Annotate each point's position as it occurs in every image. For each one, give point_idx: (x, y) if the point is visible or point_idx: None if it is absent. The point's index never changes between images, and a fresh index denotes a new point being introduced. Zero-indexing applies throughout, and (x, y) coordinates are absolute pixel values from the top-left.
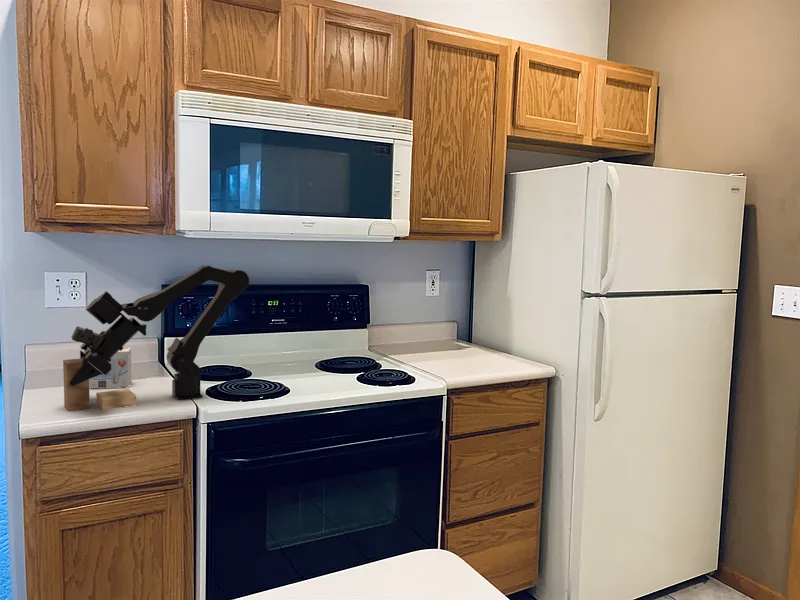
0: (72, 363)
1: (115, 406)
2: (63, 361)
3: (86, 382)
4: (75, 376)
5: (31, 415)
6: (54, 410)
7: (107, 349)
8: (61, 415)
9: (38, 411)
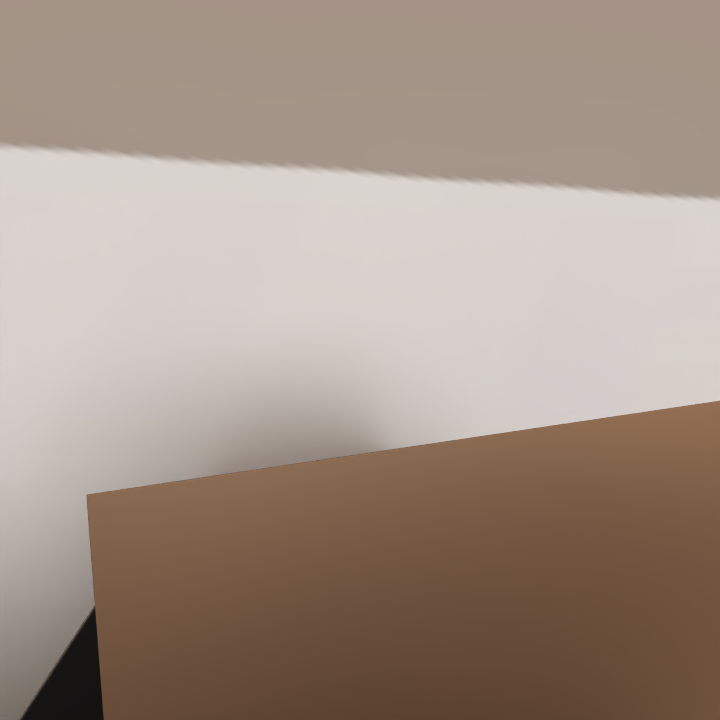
0: (103, 706)
1: None
2: (661, 410)
3: None
4: (60, 671)
5: (181, 191)
6: (276, 371)
7: None
8: (59, 428)
9: (295, 246)
